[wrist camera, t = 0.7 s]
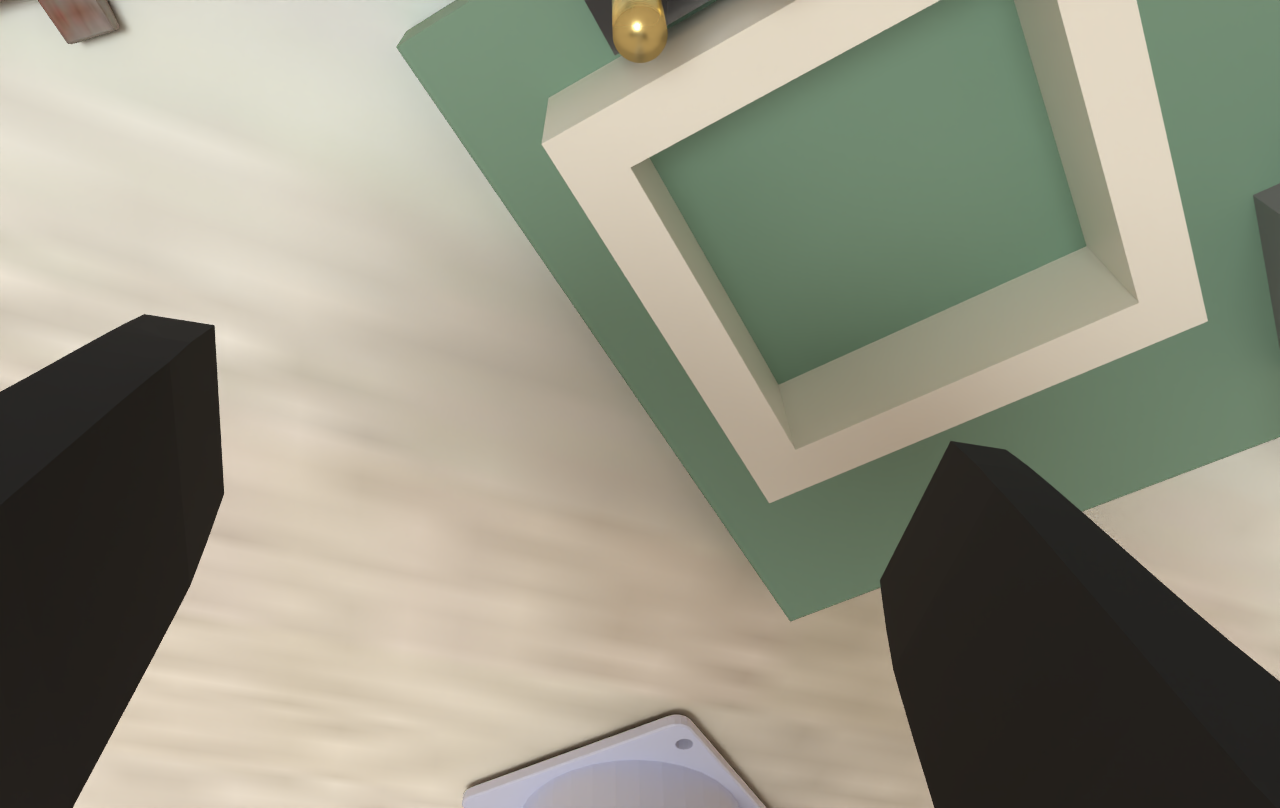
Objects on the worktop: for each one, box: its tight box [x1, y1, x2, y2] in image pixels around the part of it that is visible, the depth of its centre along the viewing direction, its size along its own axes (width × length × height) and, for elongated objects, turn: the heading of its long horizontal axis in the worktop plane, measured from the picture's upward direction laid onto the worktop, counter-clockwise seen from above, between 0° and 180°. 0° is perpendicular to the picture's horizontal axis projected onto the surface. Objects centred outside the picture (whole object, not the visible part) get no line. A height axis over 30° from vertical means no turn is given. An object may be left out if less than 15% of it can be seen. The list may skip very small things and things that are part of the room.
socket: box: [542, 0, 1208, 503], centre depth 16 cm, size 8×8×2 cm
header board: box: [397, 0, 1280, 621], centre depth 18 cm, size 16×17×1 cm
